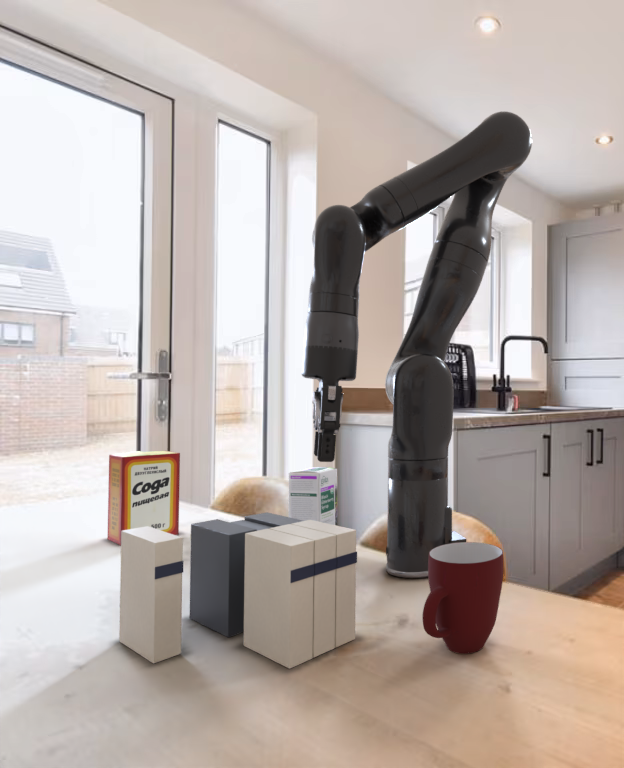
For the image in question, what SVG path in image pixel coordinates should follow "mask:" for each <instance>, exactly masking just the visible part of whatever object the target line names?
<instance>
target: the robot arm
mask: <svg viewBox="0 0 624 768" xmlns="http://www.w3.org/2000/svg"><path fill="white" fill-rule="evenodd" d="M532 146H533V136H532V132H531V129H530V127H529V125H528V123H526V121H525V120H524V118H522V117H521V116H519V115H518V114H516V113H514V112H511V111H497V112H494V113H492V114H490V115H488V116H487V117H486V118H485V119H484V120H482V121H481V122H480V124H478V125H477V126H476V127H475V128H474V129H473V130H472V131H470V132H469V133H468V134H467V135H465V136H464V137H462V138H460V140H458V141H456V142H455V143H453V144H452V145H450V146H449V147H447V148H446V149H444V150H442V151H440V152H438V153H437V154H435V155H434V156H431V157H430V158H428V159H426V160H425V161H423V162H421V163H419V164H417V165H414V166H413V167H411V168H409V169H407V170H405V171H403V172H401V173H400V174H398V175H395V176H394V177H392V178H390V179H388V180H386V181H384V182H382V183H380V184H378V185H376V186H375V187H373V188H372V189H370V190H369V191H367V193H366V194H364V196H363V197H362V198H361V200H359V201H358V202H356V203H355V204H353V205H351V206H347V205H344V204H334V205H330V206H328V207H325V209H323V210H321V212H320V213H319V214H318V215H317V217H316V220H315V223H314V226H313V231H312V236H311V240H312V241H311V242H312V247H313V249H314V251H313V273H312V277H311V281H310V285H309V291H308V303H307V316H306V321H305V326H304V333H303V346H302V361H301V376H302V377H303V378H305V379H311V380H317V381H318V387H316V389H315V391H314V390H313V392H312V405H313V407H312V419H313V421H312V422H313V429H314V432H315V433H314V444H313V455H314V456H315V457H317V461H319V462H320V463H333V462H334V461H335V458H336V446H337V445H336V444H337V435H338V432H339V430H340V428H341V423H340V422H341V419H342V410H343V409H342V407H343V406H342V405H343V403H344V393H343V391H344V390H343V387H342V385H339V384H340V383H339V382H353V381H355V380H356V378H357V368H358V355H359V354H358V353H359V352H358V351H359V350H358V349H359V337H360V334H359V333H360V330H359V312H360V311H359V310H360V309H359V308H360V282H361V281H360V280H361V276H362V270H363V264H364V258H365V253H366V252H368V251H369V250H370V249H372V248H373V247H374V246H376V245H377V244H379V243H380V242H382V240H384V239H386V237H389V236H390V235H392V234H394V233H396V232H399V231H400V230H402V229H404V228H405V227H407V226H410V225H411V224H413V223H415V222H416V221H418V220H420V219H421V218H423V217H424V216H426V215H427V214H429V213H430V212H432V211H434V210H435V209H437V208H438V207H439V206H441V205H442V204H443V203H444V202H446V201H447V200H449V199H450V198H451V197H452V196H453V198H452V200H451V203H450V205H449V206H448V209H447V211H446V214H445V216H444V218H443V221H442V222H441V225H440V228H439V230H438V233H437V235H436V238H435V240H434V243H433V246H432V249H431V251H430V255H429V258H428V260H427V263H426V267H425V269H424V273H423V276H422V280H421V284H420V287H419V290H418V294H417V297H416V301H415V304H414V309H413V312H412V316H411V319H410V322H409V324H408V328H407V330H406V332H405V334H404V337H403V339H402V341H401V343H400V346H399V348H398V350H397V352H396V354H395V356H394V357H393V360H392V362H391V364H390V366H389V368H388V370H387V372H386V376H385V382H384V387H385V393H386V396H387V399H388V400H389V402H390V403H391V404H392V429H391V434H390V437H389V440H388V443H387V457H388V458H387V519H386V520H387V525H386V527H387V528H386V529H387V530H386V531H387V532H386V538H387V539H386V547H385V556H386V564H385V565H386V567H385V568H386V572H387V574H389V575H391V576H394V577H398V578H405V579H418V578H428V560H429V552H430V551H431V550H432V549H434V548H436V547H438V546H441V545H445V544H451V543H460V542H467V538H465V537H464V536H463V535H462V534H460V533H459V532H457V531H456V530H453V508H452V507H451V506H450V505H449V448H450V447H449V446H450V444H451V439H452V436H453V423H454V401H455V400H454V398H455V397H454V396H455V393H454V391H455V389H454V380H453V375H452V372H451V370H450V368H449V366H448V365H447V363H446V362H445V360H446V358H447V357H446V356H447V353H448V349H449V346H450V344H451V343H450V342H451V341H452V338H453V336H454V334H455V331H456V330H457V328H458V327H459V325H460V323H461V322H462V320H463V319H464V317H465V315H466V313H467V312H468V310H469V309H470V307H471V305H472V304H473V301H474V300H475V298H476V295H477V293H478V292H479V289H480V286H481V284H482V281H483V278H484V275H485V272H486V269H487V266H488V263H489V259H490V255H491V252H492V251H491V250H492V239H493V238H492V230H493V229H492V223H493V222H492V221H493V215H494V211H495V207H496V205H497V203H498V200H499V198H500V195H501V193H502V191H503V188H504V186H505V185H506V182H507V181H508V179H509V178H510V176H512V175H513V173H515V172H516V171H517V170H518V169H519V168H520V167H521V166H522V165H523V164H524V163H525V162H526V160H527V159H528V157H529V155H530V153H531V150H532Z"/></svg>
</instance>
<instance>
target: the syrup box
mask: <svg viewBox="0 0 624 768" xmlns="http://www.w3.org/2000/svg"><path fill="white" fill-rule="evenodd" d="M338 513H339V511H338V468H337V467H330V466H313V467H312V466H311V467H306V468H304V469H299V470H298V469H297V470H294V471H290V472H288V517H290V518H294V519H299V520H303V521H306V520H314V521H318V522H323V523H327V524H332V525H336V526H339V525H338V524H339V523H338V520H339V519H338V517H339V516H338V515H339V514H338Z"/></svg>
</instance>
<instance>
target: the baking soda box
mask: <svg viewBox="0 0 624 768" xmlns="http://www.w3.org/2000/svg"><path fill="white" fill-rule="evenodd" d="M180 463H181V453H180V452H176V451H170V450H156V451H155V450H153V451H141V450H136V451H128V452H127V451H126V452H120V453H113V454H108V490H107V491H108V493H107V494H108V497H107V540H108V541H110V542H113V543H115V544H117V545H119V546H121V531H123V530H128V529H134V528H140V527H146V526H149V527H152V528H155V529H158V530H161V531H164V532H167V533H170V534H173V535H176V536H179V530H180V529H179V528H180V525H179V524H180V477H181V476H180V475H181V473H180V471H181V470H180V469H181V465H180Z"/></svg>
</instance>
